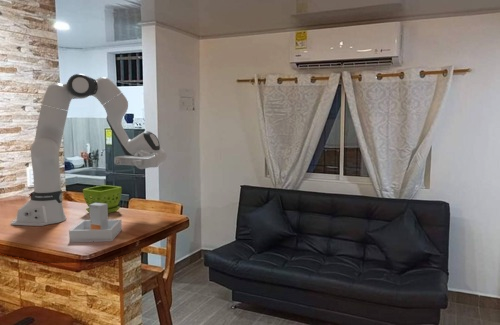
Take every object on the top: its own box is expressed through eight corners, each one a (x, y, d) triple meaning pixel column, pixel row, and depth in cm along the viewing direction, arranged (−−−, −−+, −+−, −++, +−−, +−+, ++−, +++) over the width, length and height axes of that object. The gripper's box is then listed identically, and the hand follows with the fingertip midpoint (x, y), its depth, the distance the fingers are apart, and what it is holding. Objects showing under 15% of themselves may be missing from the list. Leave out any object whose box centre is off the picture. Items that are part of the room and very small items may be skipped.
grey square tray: (69, 241, 154) (69, 230, 154) (83, 230, 170) (83, 220, 170) (111, 241, 156) (111, 229, 155) (121, 229, 172) (121, 219, 171)
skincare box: (89, 233, 163) (88, 204, 161) (97, 230, 167) (96, 202, 165) (101, 234, 161) (100, 205, 159) (108, 231, 165) (107, 203, 163)
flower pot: (105, 208, 212) (104, 184, 211) (123, 211, 205) (122, 187, 204) (82, 213, 200) (81, 188, 199) (101, 217, 193) (100, 191, 192)
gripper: (124, 152, 195) (105, 154, 182) (160, 153, 187) (143, 156, 175) (125, 165, 195) (105, 168, 182) (161, 167, 188) (143, 170, 175)
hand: (124, 162), depth 178 cm, fingers open, 8 cm apart
